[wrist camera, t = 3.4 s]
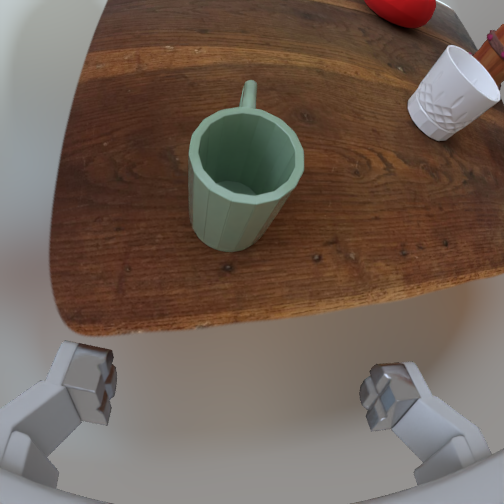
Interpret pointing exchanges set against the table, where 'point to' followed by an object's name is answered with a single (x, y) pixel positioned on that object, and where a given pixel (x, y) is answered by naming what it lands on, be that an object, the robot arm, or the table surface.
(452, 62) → the white cup
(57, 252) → the table surface
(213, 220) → the enamel mug
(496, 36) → the mug
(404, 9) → the tomato
